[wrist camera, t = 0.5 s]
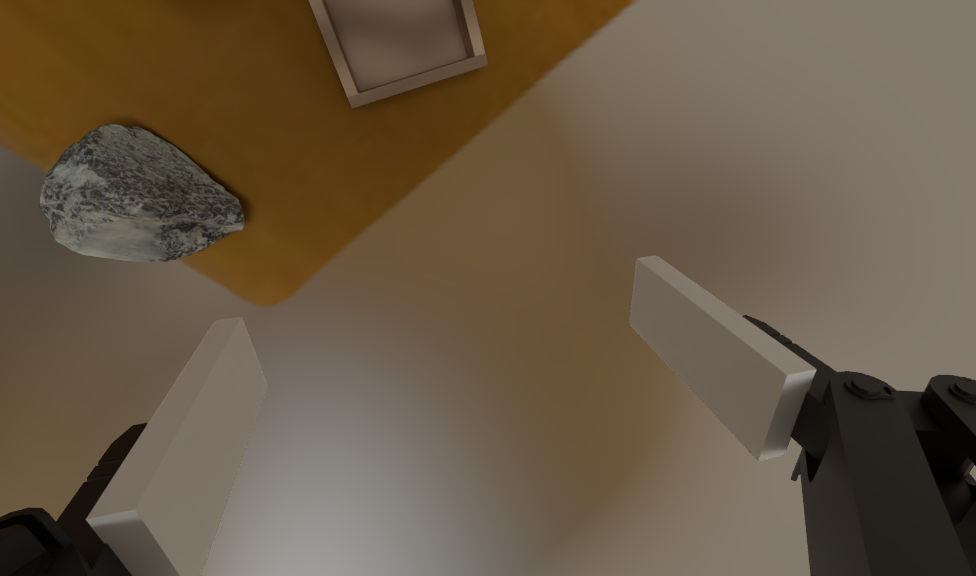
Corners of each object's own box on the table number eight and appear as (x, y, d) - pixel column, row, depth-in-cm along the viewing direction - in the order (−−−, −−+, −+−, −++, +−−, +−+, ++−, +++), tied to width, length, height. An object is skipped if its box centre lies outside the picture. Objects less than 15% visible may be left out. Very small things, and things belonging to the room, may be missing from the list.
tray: (303, -26, 31) (292, -39, 28) (444, -69, 32) (451, -86, 28) (355, 104, 35) (351, 108, 32) (478, 65, 36) (488, 65, 33)
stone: (155, 177, 26) (2, 252, 26) (262, 246, 35) (150, 302, 35) (133, 71, 29) (-2, 138, 29) (236, 160, 39) (134, 211, 39)
